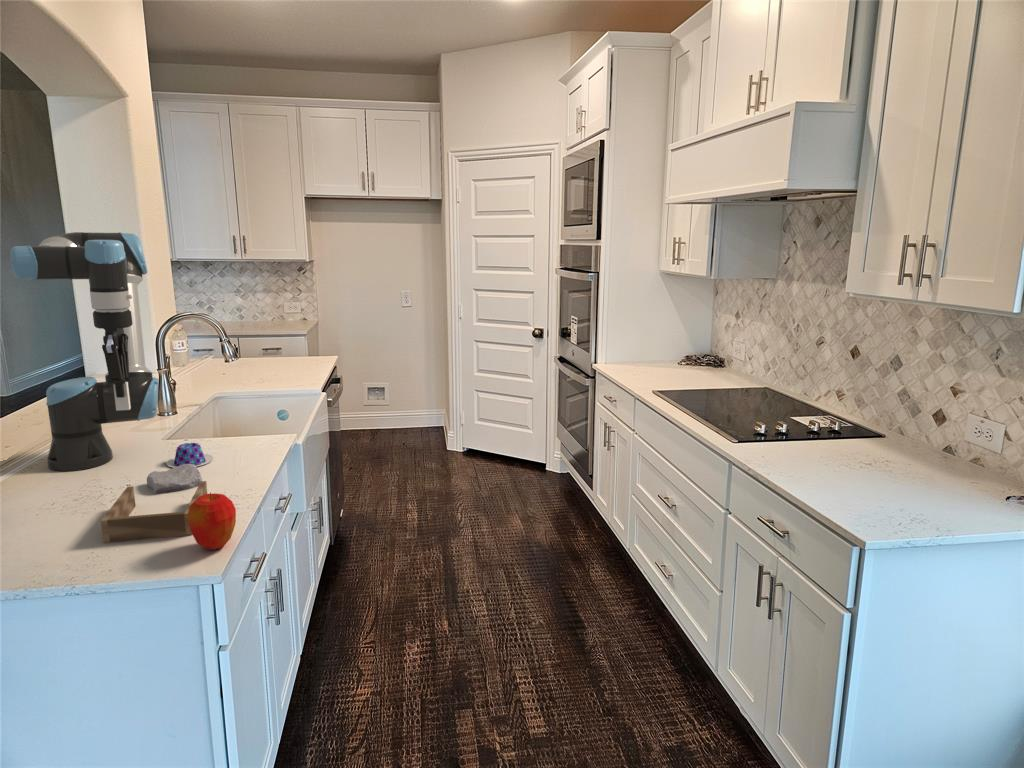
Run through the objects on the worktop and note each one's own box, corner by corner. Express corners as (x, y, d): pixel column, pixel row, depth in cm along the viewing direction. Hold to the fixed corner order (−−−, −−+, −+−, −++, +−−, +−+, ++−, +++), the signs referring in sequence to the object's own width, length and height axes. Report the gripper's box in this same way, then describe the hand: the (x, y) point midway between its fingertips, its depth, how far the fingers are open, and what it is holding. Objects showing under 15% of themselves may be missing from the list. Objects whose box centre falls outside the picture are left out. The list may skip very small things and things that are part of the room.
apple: (183, 545, 136) (178, 491, 133) (227, 532, 142) (223, 480, 139) (200, 561, 129) (195, 505, 127) (245, 547, 136) (241, 493, 133)
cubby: (130, 506, 154) (127, 486, 153) (208, 500, 159) (206, 481, 158) (103, 543, 136) (100, 520, 135) (192, 534, 141) (190, 513, 139)
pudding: (206, 469, 180) (204, 451, 178) (159, 471, 178) (157, 453, 177) (218, 455, 191) (217, 438, 190) (175, 456, 189) (173, 439, 188)
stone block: (207, 492, 169) (195, 474, 175) (206, 476, 167) (193, 458, 174) (156, 504, 161) (145, 485, 168) (154, 488, 159) (144, 469, 166)
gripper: (123, 313, 143) (135, 416, 149) (136, 305, 155) (147, 401, 161) (84, 314, 141) (97, 418, 146) (100, 305, 153) (112, 402, 158)
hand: (123, 409), depth 154 cm, fingers closed
